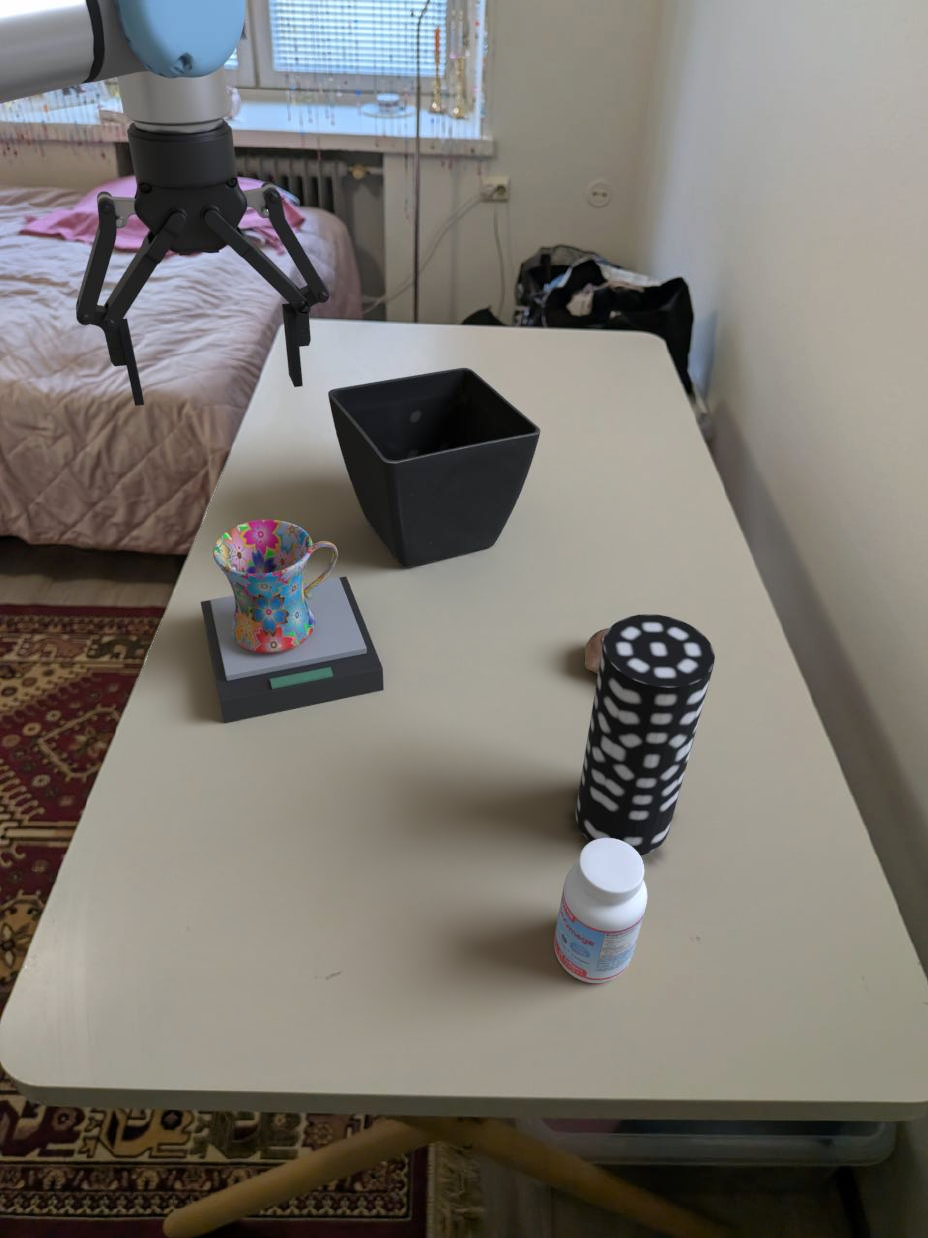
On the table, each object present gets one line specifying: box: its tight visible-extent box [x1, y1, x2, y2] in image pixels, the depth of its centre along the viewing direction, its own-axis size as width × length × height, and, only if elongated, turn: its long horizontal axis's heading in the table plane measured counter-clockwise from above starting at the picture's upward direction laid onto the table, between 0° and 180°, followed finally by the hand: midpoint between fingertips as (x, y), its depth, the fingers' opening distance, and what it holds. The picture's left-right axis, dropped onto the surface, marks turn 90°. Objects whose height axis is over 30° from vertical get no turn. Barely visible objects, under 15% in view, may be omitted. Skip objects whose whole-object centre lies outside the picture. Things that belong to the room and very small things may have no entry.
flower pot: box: [327, 367, 541, 568], centre depth 111 cm, size 19×19×17 cm
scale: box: [200, 575, 385, 724], centre depth 96 cm, size 16×16×4 cm
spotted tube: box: [575, 613, 716, 856], centre depth 76 cm, size 8×8×20 cm
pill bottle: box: [553, 838, 648, 984], centre depth 69 cm, size 6×6×11 cm
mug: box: [212, 519, 339, 653], centre depth 92 cm, size 12×9×11 cm
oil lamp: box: [584, 627, 610, 675], centre depth 96 cm, size 9×4×8 cm
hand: (219, 389), depth 81 cm, fingers open, 13 cm apart
